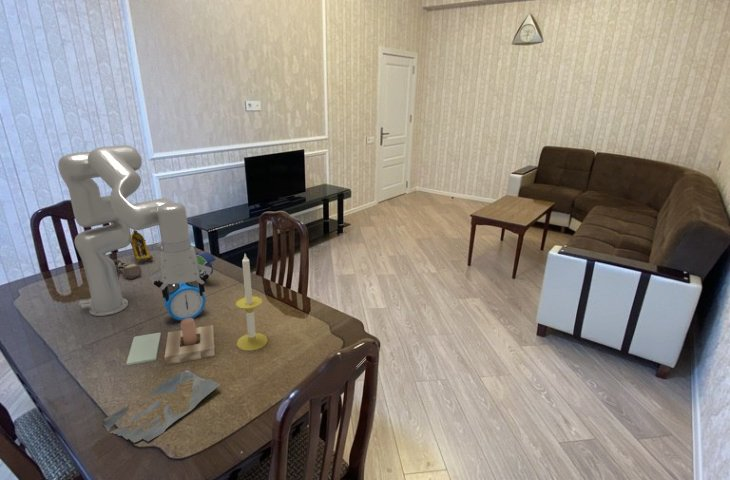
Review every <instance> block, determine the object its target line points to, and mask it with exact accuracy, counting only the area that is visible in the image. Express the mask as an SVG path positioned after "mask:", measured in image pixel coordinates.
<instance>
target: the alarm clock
mask: <svg viewBox="0 0 730 480" xmlns="http://www.w3.org/2000/svg"><path fill="white" fill-rule="evenodd" d="M167 286H168V292H169V301H166V299H165V298H163V305H164V308H165V309H166V310H167V312H168V314H169V315H170V316H171V317H172V318H173V319H175V320H177V321H178V323H181V321H182V320H184V319H186V318H193V319H195V318H196V317H200V314H201V313H202V311H204V308H205V306H206V300H207V299H206V295H205V292H203V296H200V291H199V282H198V281H191V282H184V283H177V284H168V285H167Z"/></svg>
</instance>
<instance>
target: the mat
mask: <svg viewBox="0 0 730 480" xmlns="http://www.w3.org/2000/svg"><path fill="white" fill-rule="evenodd" d="M161 336H162V333H161V332H156V333H155V332H154V333H148V334H141V335H136V336H134V337H133V339H132V343H131V345H130V349H129V353H128V357H127V360H126V363H125V364H126V367H128V366H133V365H140V364H144V363H149V362H150V363H151V362H155V361H157V358H158V352H159V346H160V341H161Z"/></svg>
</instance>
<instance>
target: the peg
mask: <svg viewBox="0 0 730 480" xmlns="http://www.w3.org/2000/svg"><path fill="white" fill-rule="evenodd" d="M180 325H181V326H180V327H181V330H182V334H183V341H184V344H183V346H189V345H194V344H199V343H198V342H197V335H196V328H197V327H196V322H195V318H186V319H184V320H181V321H180Z"/></svg>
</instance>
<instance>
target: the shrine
mask: <svg viewBox="0 0 730 480" xmlns="http://www.w3.org/2000/svg"><path fill="white" fill-rule="evenodd" d="M132 231H133V232H132V233H131V242H130V246H131V248H132V252H133V254H134V256H135V257H134V258H135V262H138V261H139V262H140V261H147V260H152V259H154V256H153V255H152V254H150V253H149V250H148V247H147V243H146V239H145V238H144V235H142V234H141V233H140V232H138V230H134V229H133V230H132Z"/></svg>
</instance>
